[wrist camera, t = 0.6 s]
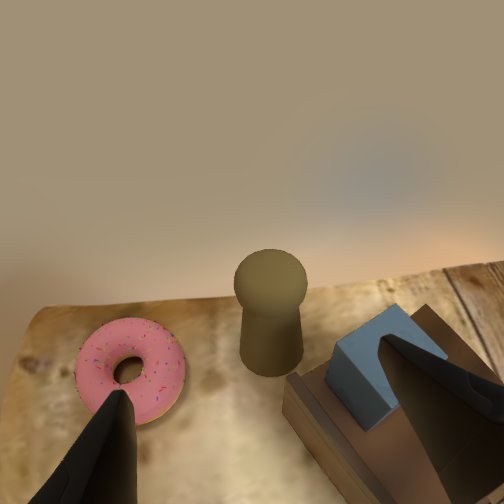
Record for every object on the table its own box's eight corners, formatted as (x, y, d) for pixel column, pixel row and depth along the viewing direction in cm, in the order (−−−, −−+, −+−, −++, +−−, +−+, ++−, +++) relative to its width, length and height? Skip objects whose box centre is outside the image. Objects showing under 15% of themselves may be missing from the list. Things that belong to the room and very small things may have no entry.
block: (417, 390, 18) (448, 356, 14) (366, 433, 16) (392, 409, 13) (375, 343, 21) (395, 302, 18) (323, 378, 19) (335, 342, 16)
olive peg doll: (272, 389, 25) (272, 318, 17) (226, 349, 28) (207, 267, 21) (316, 345, 28) (333, 263, 20) (270, 312, 31) (268, 226, 24)
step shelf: (525, 442, 15) (574, 412, 10) (408, 573, 10) (453, 586, 5) (416, 320, 29) (442, 271, 24) (281, 411, 23) (285, 377, 18)
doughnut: (146, 454, 20) (127, 444, 17) (68, 388, 24) (46, 369, 22) (213, 362, 27) (205, 339, 24) (130, 316, 31) (117, 291, 29)
